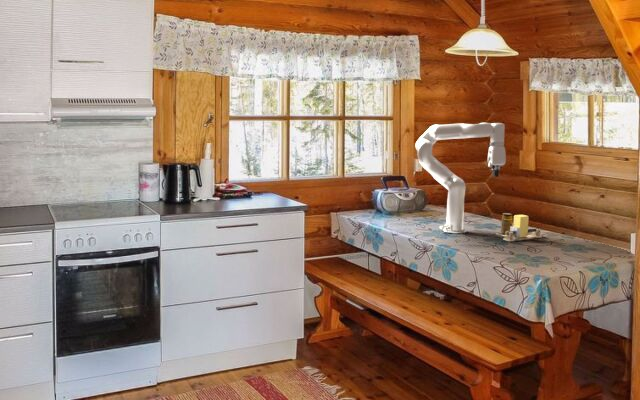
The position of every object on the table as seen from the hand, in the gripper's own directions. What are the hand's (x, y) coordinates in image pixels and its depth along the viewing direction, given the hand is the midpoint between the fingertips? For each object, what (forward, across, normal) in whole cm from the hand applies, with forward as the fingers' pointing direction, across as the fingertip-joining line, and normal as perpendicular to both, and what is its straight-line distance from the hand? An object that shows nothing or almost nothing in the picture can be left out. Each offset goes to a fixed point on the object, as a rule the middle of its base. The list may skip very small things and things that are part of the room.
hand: (495, 176), depth 399 cm
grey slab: (+32, -4, -22) cm, 39 cm away
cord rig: (+32, +2, -22) cm, 39 cm away
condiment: (+32, +1, -9) cm, 34 cm away
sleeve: (+30, 0, -22) cm, 38 cm away
